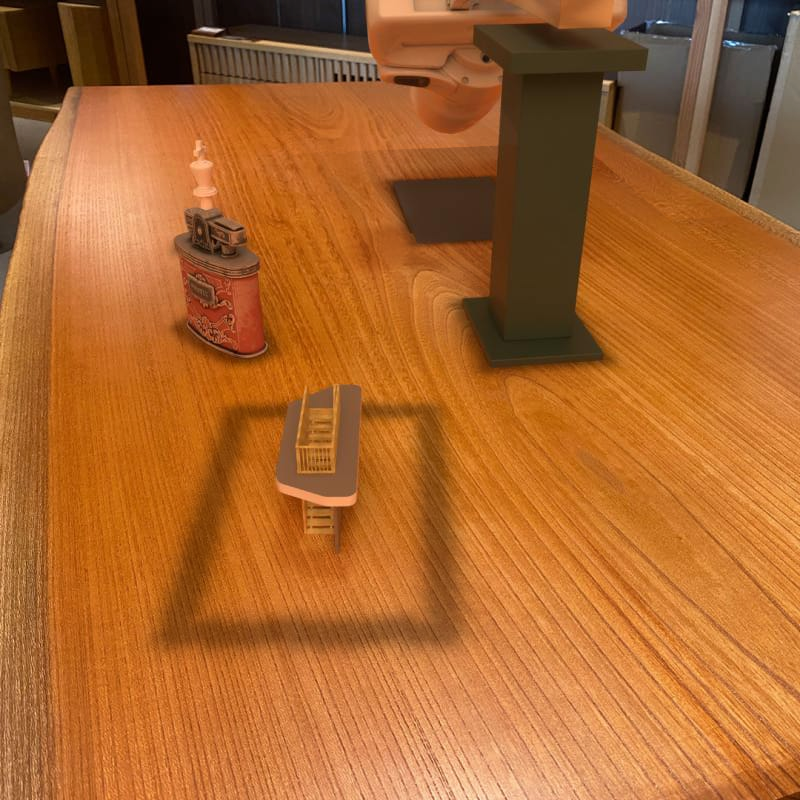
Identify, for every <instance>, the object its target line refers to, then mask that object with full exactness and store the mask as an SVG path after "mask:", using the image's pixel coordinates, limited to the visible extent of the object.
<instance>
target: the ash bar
mask: <svg viewBox="0 0 800 800" xmlns="http://www.w3.org/2000/svg"><path fill="white" fill-rule="evenodd" d="M506 1H508V2H510V3H511V4H513V5H515V6H517V7H519V8H521V9H523V10H524V11H526V12H528V13H530V14H532V15H534V16H536V17H537V18H539V19H541V20H543V21H545V22H547V23H549V24H551V25H552V26H554V27H556V28H558V29H584V28H610V27H611V21H612V13H613V5H614V0H506Z"/></svg>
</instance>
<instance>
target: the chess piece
mask: <svg viewBox="0 0 800 800" xmlns="http://www.w3.org/2000/svg"><path fill="white" fill-rule="evenodd" d="M203 143H204V142H203V140H202V139H201V140H199V139H198V140H195V143H194V144H195V149H194V150H192V154H193V155H192V156H193V157H196V158H197V160H195V161H192V162H190V164H189V169H190V171H191V173H192V174H193V177H194V179H195V182H196V183H197V187H195V188H194V189H193V191H192V195H193V196H195V197H198V198H199V199H200V208H202V209H204V210H209V209H212V208H215V207H214V203H213V198H212V197H213V196H215V195H217V194H218V193H219V191H218V190H217V187H215V186H212V185H211V182H212V178H213V177H212V176H213V172H214V167H215V165H214V163H213V162H212V161H211V160H206V159H205V153H206V152H208V148H207V145H204V144H203Z"/></svg>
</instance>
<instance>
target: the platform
mask: <svg viewBox="0 0 800 800" xmlns="http://www.w3.org/2000/svg"><path fill="white" fill-rule="evenodd" d="M362 390H363V388H362V386H360V385H359V384H340V383H333V385H330V386H328V387H326V388H322V389H321V390H318V391H316V392H313V393H311V394H309V386H308V384H305V385H304V390H303V391H304V392H303V397H301V398H298V399H296V400H293V401H291V402H290V403H288V405H287V410H286V415H285V421H284V426H283V431H282V436H281V442H280V447H279V451H278V452H279V453H278V457H277V462H276V463H277V464H276V469H275V483H276V484H275V485H276V486H277V489H278V491H279V492H280V493H281V494H285V495H288V496H291V497H294V498H298V499H301V508H302V521H303V531H304V532H303V533H304V535H334V547H335V548H334V549H335V555H340V545H341V531H342V520H343V507H351V506H353V505H354V504H355V503H356V502H357V500H358V487H359V486H358V483H359V463H360V445H361V444H360V443H361V423H362V404H363V403H362V402H363V391H362ZM310 422H311V423H310ZM317 422H318V423H317ZM320 422H322V423H320ZM323 422H325V423H323ZM326 422H331V423H326ZM316 507H317V508H316ZM328 507H329V508H328Z"/></svg>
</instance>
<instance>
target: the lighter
mask: <svg viewBox="0 0 800 800" xmlns="http://www.w3.org/2000/svg"><path fill="white" fill-rule="evenodd" d="M183 213H184V221H185V225H186V229H187V232H182V233H179V234H177V235H176V236H174V237H173V245H174V250H175V252H176V253H177V254H178V259H179V266H180V272H181V279H182V285H183V291H184V298H185V305H186V311H187V319H188V320H187V321H186V328H187V330H188V331H189V332H190V333H191V334H192V335H193V336H194V337H195V338H197V339H198V340H199V341H201V342H202V343H204V344H205V345H206V346H209V347H211V348H212V349H214V350H216V351H218V352H220V353H223V354H225V355H228V356H231V357H233V358H236V359H239V360H251V359H255V358H259V357H261V356H263V355H264V354H266V353H267V352H268V349H269V345H268V343H267V341H266V340H265V331H264V321H263V311H262V301H261V300H262V299H261V292H260V290H261V289H260V281H259V272H260V270H261V262H260V257H259V255H258V254H256V253H255V252H254V251H252V250H251V249H250V248H249V247H246V246H244V245H246V244H247V243H248V237H247V228H246V227H245V226H244V225H243V224H242V223H240V222H238V221H235V220H233V219H230V218H229V217H226V216H225V215H224V213H223V211H222V209H220V208H218V207H214V208H212V209H209V210H204V209H202V208H201V207H199V206H191V207H188V208H187V207H186V208H185V209H184V210H183Z"/></svg>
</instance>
